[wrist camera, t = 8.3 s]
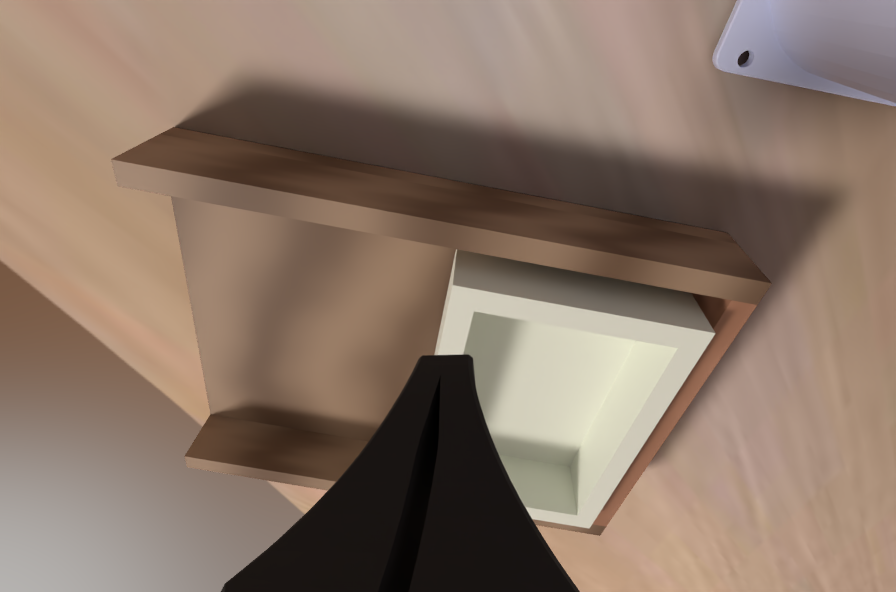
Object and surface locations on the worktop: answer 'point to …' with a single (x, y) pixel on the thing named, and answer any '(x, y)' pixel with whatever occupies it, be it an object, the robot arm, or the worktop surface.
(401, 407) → the robot arm
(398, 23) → the worktop surface
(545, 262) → the bay
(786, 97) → the worktop surface
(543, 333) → the crate
